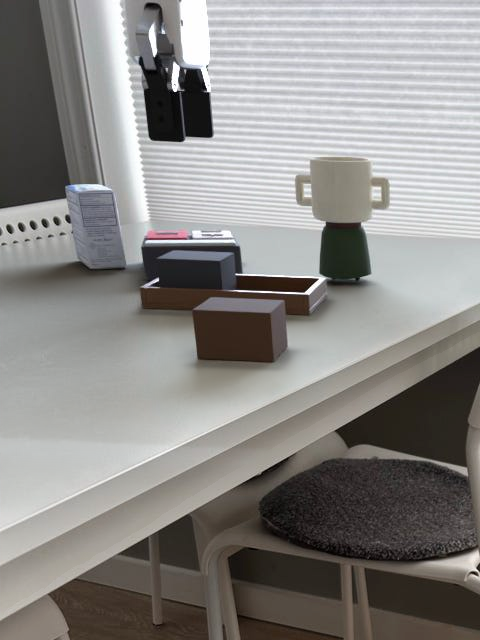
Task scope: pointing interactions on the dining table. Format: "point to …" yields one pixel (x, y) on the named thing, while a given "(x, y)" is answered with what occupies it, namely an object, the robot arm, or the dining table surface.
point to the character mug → (342, 211)
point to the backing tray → (242, 293)
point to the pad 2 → (240, 329)
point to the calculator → (186, 246)
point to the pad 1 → (197, 270)
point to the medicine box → (96, 226)
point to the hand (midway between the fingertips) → (183, 139)
